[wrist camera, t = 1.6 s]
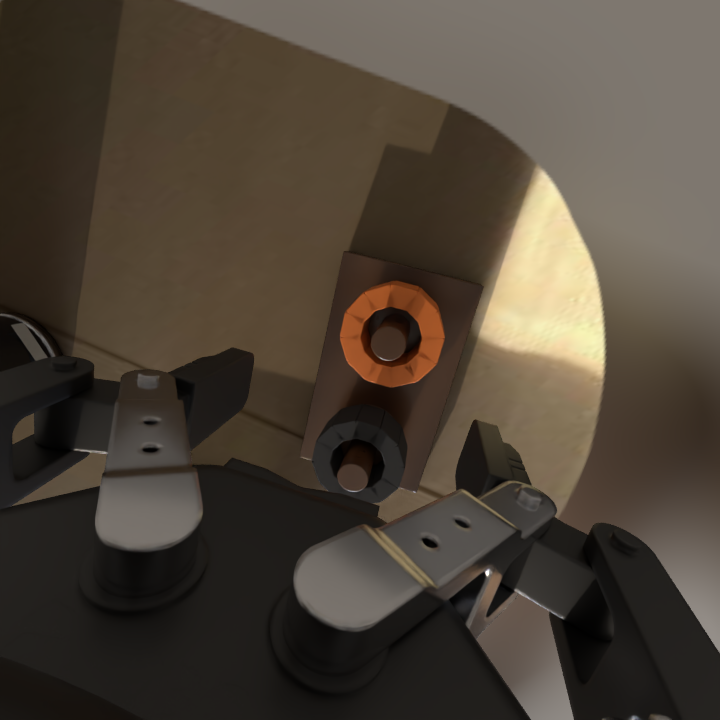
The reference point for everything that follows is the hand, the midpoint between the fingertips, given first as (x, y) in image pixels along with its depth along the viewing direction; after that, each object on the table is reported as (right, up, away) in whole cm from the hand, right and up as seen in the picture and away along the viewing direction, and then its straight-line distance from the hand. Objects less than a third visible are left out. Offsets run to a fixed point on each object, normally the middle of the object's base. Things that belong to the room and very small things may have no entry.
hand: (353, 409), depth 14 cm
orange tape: (+3, +4, +13) cm, 14 cm away
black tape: (+1, -4, +16) cm, 16 cm away
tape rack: (+2, +1, +18) cm, 18 cm away
